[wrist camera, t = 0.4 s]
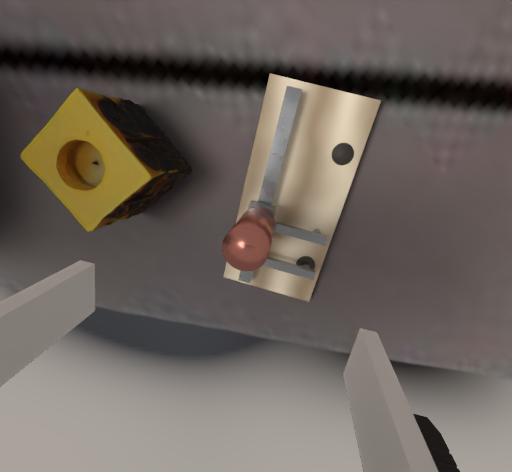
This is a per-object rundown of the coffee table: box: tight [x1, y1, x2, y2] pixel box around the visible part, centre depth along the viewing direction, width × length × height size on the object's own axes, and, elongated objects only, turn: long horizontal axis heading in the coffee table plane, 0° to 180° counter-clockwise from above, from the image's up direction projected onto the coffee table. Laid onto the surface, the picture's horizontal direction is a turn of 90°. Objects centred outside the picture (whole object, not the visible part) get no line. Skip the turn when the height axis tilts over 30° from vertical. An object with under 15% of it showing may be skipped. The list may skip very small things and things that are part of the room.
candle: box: [21, 88, 192, 232], centre depth 31 cm, size 10×10×10 cm
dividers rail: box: [238, 86, 316, 283], centre depth 32 cm, size 9×23×3 cm, turn 166°
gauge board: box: [223, 74, 381, 302], centre depth 33 cm, size 12×25×1 cm, turn 166°
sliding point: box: [222, 200, 328, 271], centre depth 28 cm, size 10×4×11 cm, turn 76°
